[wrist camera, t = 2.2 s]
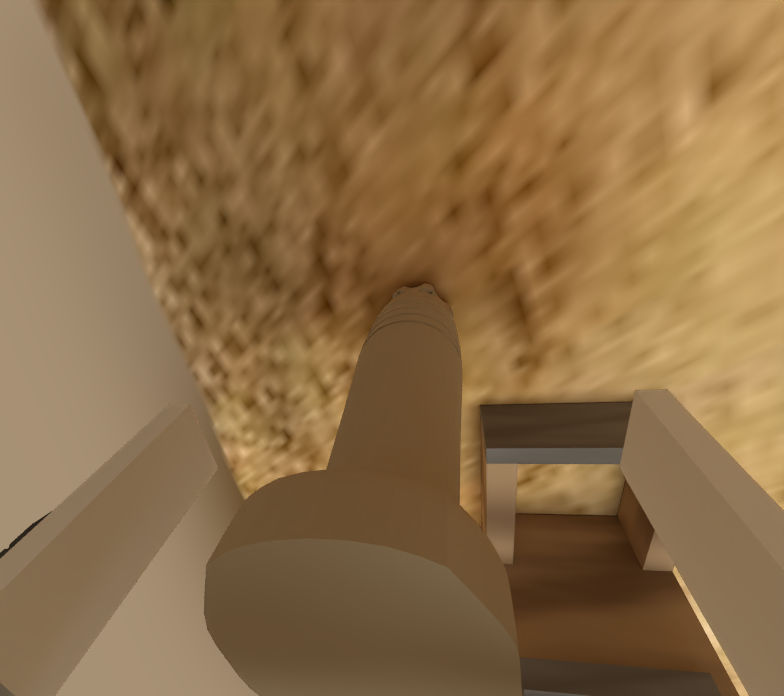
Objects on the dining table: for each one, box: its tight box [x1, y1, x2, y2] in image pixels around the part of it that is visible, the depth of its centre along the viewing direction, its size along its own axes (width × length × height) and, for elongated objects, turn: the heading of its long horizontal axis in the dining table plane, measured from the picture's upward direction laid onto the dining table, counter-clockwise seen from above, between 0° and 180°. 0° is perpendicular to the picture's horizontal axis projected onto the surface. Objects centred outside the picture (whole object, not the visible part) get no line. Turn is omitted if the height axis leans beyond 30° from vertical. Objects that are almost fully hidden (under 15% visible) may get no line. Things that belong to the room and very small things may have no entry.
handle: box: [204, 283, 522, 696], centre depth 13 cm, size 5×6×15 cm
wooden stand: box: [480, 402, 739, 696], centre depth 18 cm, size 14×10×12 cm
